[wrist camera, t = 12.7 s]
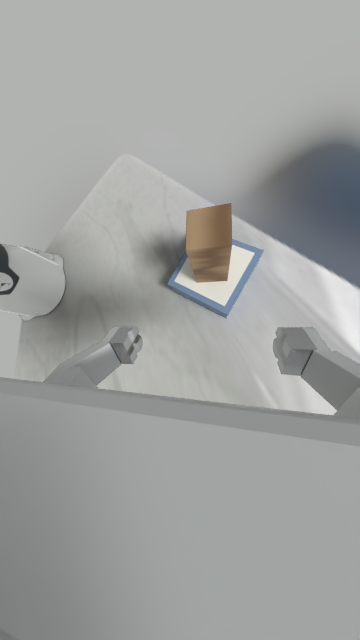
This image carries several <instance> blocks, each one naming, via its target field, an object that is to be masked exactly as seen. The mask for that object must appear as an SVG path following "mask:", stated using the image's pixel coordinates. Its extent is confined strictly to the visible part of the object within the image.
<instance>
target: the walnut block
mask: <svg viewBox="0 0 360 640" xmlns="http://www.w3.org/2000/svg"><path fill="white" fill-rule="evenodd" d="M231 250H232V216H231V203H230V204H224V205H218V206H212V207H206V208H201V209H195V210H189V211H187V219H186V253H187V255H188V258H189V261H190V264H191V266H192V269H193V272H194V275H195V278H196V280H197V283H202V282H218V281H227V280H228V273H229V265H230V257H231Z"/></svg>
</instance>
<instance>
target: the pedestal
mask: <svg viewBox="0 0 360 640" xmlns="http://www.w3.org/2000/svg"><path fill="white" fill-rule="evenodd" d="M263 251H264V250H261V249H258V248H256V247H253V246H250V245H247V244H244V243H242V242H239V241H236V240H233V239H232V250H231V257H230V265H229V273H228V280H227V281H218V282H202V283H197V280H196V278H195V275H194V272H193V269H192V266H191V264H190V261H189V258H188V255H187V253H186V252H185V253H184V255H183V257H182V259H181V260H180V262H179V264H178V266H177V267H176V269H175V271H174V273H173V274H172V276H171V278H170V280H169V281H168V283H167V284H168V286H169V287H170V288H171V289H172V290H173V291H174V292H176V293H178V294H180V295H182V296H184V297H186V298H188V299H190V300H192V301H194V302H196V303H198V304H200V305H201V306H203V307H205V308H207V309H209V310H211V311H213V312H215V313H217V314H219V315H221V316H223V317H225V318H227V316H228V314H229V312H230V311H231V309H232V307H233V305H234V304H235V302H236V300H237V298H238V297H239V295H240V293H241V291H242V289H243V288H244V286H245V284H246V282H247V281H248V279H249V277H250V275H251V274H252V272H253V270H254V268H255V267H256V265H257V263H258V261H259V259H260V257H261V255H262V253H263Z"/></svg>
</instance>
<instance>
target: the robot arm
mask: <svg viewBox="0 0 360 640" xmlns="http://www.w3.org/2000/svg"><path fill="white" fill-rule="evenodd" d="M64 290H65V275H64V272H63V258H62V257H60V256H58V255H54V254H50V253H47V252H42V251H39V250H35V249H31V248H28V247H16V246H12V245H6V244H0V311H5V312H10V313H15V314H18V315H19V316H20V318H21V319H22V320H26V321H28V320H30V319H32V318H33V317H35V316H41V315H45V314H47V313H49V312H50V311H52V310H53V309H54V308H55V307H56V306H57V305H58V303H59V302H60V300H61V298H62V296H63V293H64ZM138 333H139V330H138V328H137V327H134V326H115V327H113V328H112V329H111V330H110V332H109V333H108V334H107V335H106V336H105V338H104V339H103V340H102V341H101V342H100V343H97V344H95V345H93V346H92V347H90V348H88V349H86V350H84V351H83V352H81V353H79V354H77V355H76V356H74V357H72V358H70V359H68V360H67V361H65V362H63V363H61V364H60V365H59V366H58V367H57V368H56V369H55V370H54V371H53V372H52V373H51V374H50V375H49V376H48V377H47V378H46V380H45V381H44V382H36V381H28V380H19V379H10V378H1V377H0V640H360V364H359V363H357V362H355V361H353V360H351V359H349V358H348V357H346V356H344V355H342V354H340V353H338V352H337V351H331V349H330V348H329V347H328V345H327V344H326V343H325V341H324V340H323V339H322V337H321V336H320V335H319V333H318V332H317V331H316V329H315V328H313V327H278V328H277V330H276V335H277V338H275V339H274V342H273V352H274V355H275V357H276V358H278V359H279V360H278V366H279V369H280V372H281V374H287V375H298V376H301V377H302V378H303V379H304V380H305V381H306V382H307V383H308V384H309V385H310V386H311V387H312V388H313V389H315V390H316V391H317V392H318V393H319V394H320V395H321V396H322V397H323V398H324V399H325V400H326V401H327V402H329V403H330V404H331V405H332V406H333V407H334V408H335V409H336V410H337V412H336V413H335V414H334V415H324V414H315V413H306V412H298V411H289V410H280V409H272V408H263V407H254V406H245V405H237V404H228V403H219V402H210V401H201V400H193V399H184V398H175V397H167V396H158V395H149V394H141V393H132V392H123V391H114V390H106V389H98V387H97V385H98V384H99V383H100V382H101V381H103V380H104V379H105V378H106V377H107V376H108V375H109V374H111V373H112V372H113V371H114V370H115V369H116V368H118V367H119V366H120V365H121V364H134V362H135V360H136V358H137V352H139V351H140V350H141V348H142V343H143V342H142V338H141V336H140V335H139V334H138Z"/></svg>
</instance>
